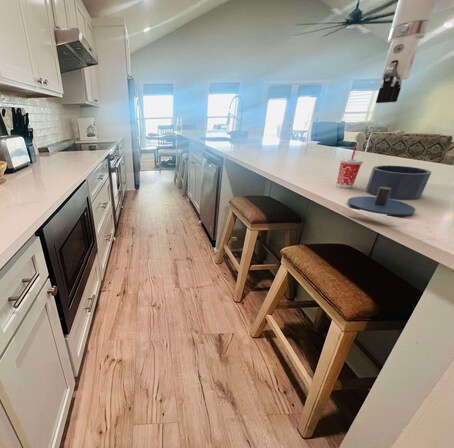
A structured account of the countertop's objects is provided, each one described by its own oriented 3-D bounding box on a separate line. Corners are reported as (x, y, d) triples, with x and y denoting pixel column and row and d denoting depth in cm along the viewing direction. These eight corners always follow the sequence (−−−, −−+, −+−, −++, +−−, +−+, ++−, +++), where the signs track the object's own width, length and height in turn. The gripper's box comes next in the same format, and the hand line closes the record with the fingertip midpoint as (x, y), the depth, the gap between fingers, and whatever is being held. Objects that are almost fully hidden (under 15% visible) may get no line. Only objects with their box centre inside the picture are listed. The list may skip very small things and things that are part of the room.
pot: (423, 193, 75) (433, 168, 71) (417, 202, 67) (428, 176, 64) (371, 185, 83) (378, 164, 80) (361, 193, 76) (368, 170, 73)
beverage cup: (329, 184, 87) (340, 144, 81) (345, 183, 87) (357, 143, 82) (342, 189, 81) (355, 146, 76) (359, 188, 82) (373, 145, 76)
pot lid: (417, 207, 64) (426, 187, 62) (409, 222, 56) (418, 199, 54) (354, 197, 74) (360, 179, 72) (340, 208, 66) (346, 188, 64)
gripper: (422, 24, 59) (397, 101, 66) (429, 34, 69) (407, 101, 76) (382, 33, 65) (363, 104, 71) (394, 41, 74) (377, 103, 81)
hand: (386, 102), depth 74 cm, fingers open, 9 cm apart
